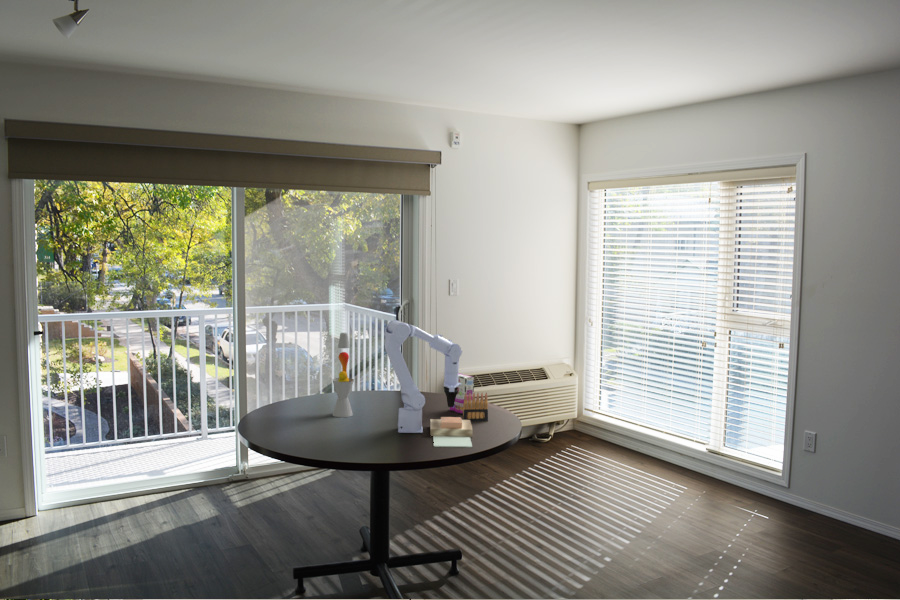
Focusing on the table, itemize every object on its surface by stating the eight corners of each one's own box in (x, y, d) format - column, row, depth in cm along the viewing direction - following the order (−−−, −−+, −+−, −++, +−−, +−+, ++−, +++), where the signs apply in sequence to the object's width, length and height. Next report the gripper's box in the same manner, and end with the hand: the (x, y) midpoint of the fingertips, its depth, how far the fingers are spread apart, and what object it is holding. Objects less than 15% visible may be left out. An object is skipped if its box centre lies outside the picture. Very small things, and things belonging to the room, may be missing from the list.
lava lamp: (333, 411, 276) (334, 331, 274) (354, 411, 277) (355, 331, 274) (330, 417, 267) (331, 334, 265) (352, 417, 268) (353, 334, 265)
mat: (433, 446, 232) (433, 445, 232) (433, 437, 244) (433, 436, 244) (472, 447, 232) (472, 446, 232) (469, 437, 244) (469, 436, 244)
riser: (430, 436, 244) (430, 428, 244) (430, 426, 258) (430, 419, 258) (472, 437, 245) (472, 429, 245) (469, 427, 259) (469, 419, 258)
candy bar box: (473, 414, 280) (474, 377, 278) (464, 415, 277) (465, 378, 275) (458, 408, 288) (459, 372, 287) (449, 410, 285) (450, 373, 284)
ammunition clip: (463, 421, 267) (464, 393, 266) (462, 420, 269) (463, 392, 268) (488, 421, 269) (489, 392, 268) (486, 419, 271) (487, 391, 270)
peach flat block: (441, 428, 245) (441, 422, 245) (440, 422, 253) (440, 416, 253) (461, 428, 246) (462, 422, 246) (460, 422, 254) (460, 417, 254)
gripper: (462, 376, 251) (461, 410, 252) (460, 369, 265) (459, 401, 266) (444, 375, 250) (443, 410, 251) (443, 368, 265) (442, 401, 266)
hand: (450, 405), depth 259 cm, fingers open, 3 cm apart
